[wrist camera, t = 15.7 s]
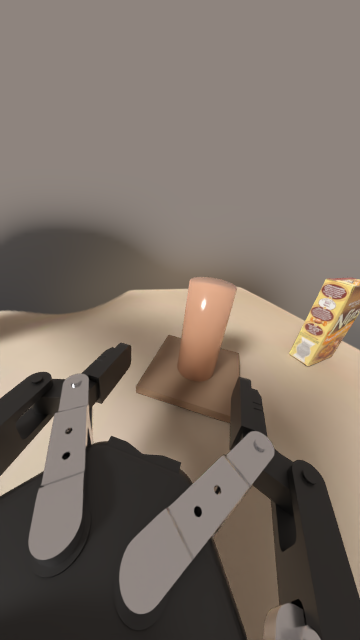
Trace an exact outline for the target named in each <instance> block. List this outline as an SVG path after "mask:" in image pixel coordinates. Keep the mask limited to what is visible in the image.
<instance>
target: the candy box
mask: <svg viewBox="0 0 360 640" xmlns="http://www.w3.org/2000/svg"><path fill="white" fill-rule="evenodd" d="M359 313H360V280H359V279H355V278H337V279H326V280H325V282H324V284H323V287H322V288H321V290H320V292H319V294H318V297H317V299H316V301H315V302H314V305H313V307H312V309H311V311H310V313H309V315H308V317H307V319H306V321H305V323H304V325H303V327H302V329H301V331H300V333H299V335H298V337H297V339H296V341H295V343H294V345H293V347H292V349H291V351H290V353H289V354H290V355H292V356H293V357H295V358H296V359H298V360H299V361H301V362H302V363H304V364H305V365H307V366H310V365H313V364H315V363H318V362H320V361H322V360H325V359H327V358H329V357H331V356H332V355H333V354H334V352H335V351H336V349H337V347H338V346H339V344H340V343H341V341H342V340H343V338H344V336H345V335H346V333H347V332H348V330H349V328H350V327H351V325H352V324H353V322H354V321H355V319H356V317H357V316H358V314H359Z"/></svg>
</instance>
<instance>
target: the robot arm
mask: <svg viewBox="0 0 360 640" xmlns="http://www.w3.org/2000/svg"><path fill="white" fill-rule="evenodd" d="M130 364H131V345H128V344H124V343H120V344H118V345H117V346H116V347H115V348H113V347H112V348H110V349H108V350H106V351H105V352H104V353H103V354H101V356H99V357H98V358H97V360H95V361H94V362H93V363H92V364H91V365H90V366H89V367H88V368H87V369H86V370H85V371H83V372H82V373H81V374H74V375H72V376H70V377H68V378H67V379H52V377H51V375H50V374H49V373H47V372H38V373H35V374H32V375H30V376H29V377H27V378H26V379H25V380H23V381H22V382H21V383H20V384H18V385H17V386H16V387H14V388H13V389H12V390H11V391H9V392H8V393H7V394H5V395H4V396H3V397H2V398H0V476H1V475H2V474H3V472H4V471H5V470H6V469H7V468H8V467H9V466H10V465H11V463H12V462H13V461H14V460H15V459H16V458H17V457H18V456H19V454H20V453H21V452H22V451H23V450H24V449H25V448H26V446H27V445H28V444H29V443H30V442H31V441H32V440H33V439H34V437H35V436H36V435H37V434H38V433H39V432H40V431H41V430H42V428H43V427H44V426H45V425H46V424H47V423H48V422H49V421H50V419H51V418H52V417H53V416H54V419H53V425H52V430H51V436H50V441H49V446H48V452H47V457H46V463H45V468H44V471H43V472H41V473H40V474H38V475H36V476H35V477H33V478H31V479H29V480H28V481H26V482H24V483H22V484H21V485H19V486H17V487H15V488H14V489H12V490H10V491H9V492H7V493H5V494H3V495H2V496H0V640H247V637H246V633H245V630H244V627H243V624H242V621H241V618H240V615H239V612H238V609H237V606H236V604H235V601H234V598H233V595H232V592H231V589H230V586H229V583H228V580H227V577H226V575H225V572H224V569H223V566H222V563H221V560H220V557H219V554H218V551H217V548H216V546H215V543H214V540H213V537H214V536H215V534H216V533H217V532H218V530H219V529H220V528H221V526H222V525H223V524H224V522H225V521H226V520H227V518H228V517H229V516H230V514H231V513H232V512H233V510H234V509H235V508H236V506H237V505H238V504H239V503H240V501H241V500H242V499H243V497H244V496H245V495H246V493H247V492H248V491H249V490H250V488H251V487H252V486H254V487H256V488H257V489H258V490H259V491H261V492H262V493H263V494H264V495H266V496H267V497H268V498H270V499H271V507H272V519H273V531H274V543H275V556H276V568H277V580H278V593H279V605H280V606H278V607H275V608H273V609H271V610H270V611H269V612H268V614H267V615H266V618H265V623H264V637H263V640H360V598H359V595H358V591H357V588H356V585H355V581H354V578H353V575H352V571H351V568H350V565H349V561H348V558H347V555H346V551H345V548H344V545H343V541H342V538H341V535H340V531H339V528H338V525H337V521H336V518H335V515H334V511H333V508H332V505H331V501H330V498H329V495H328V491H327V488H326V485H325V482H324V480H323V478H322V476H321V475H320V473H319V472H318V471H317V470H316V469H315V468H314V467H313V466H312V465H311V464H309V463H307V462H305V461H303V460H296V461H295V462H292V461H291V460H289V459H288V458H286V457H284V456H283V455H281V454H280V453H279V452H278V451H276V450H275V449H274V447H273V444H272V443H271V441H270V440H269V439H268V437H267V432H266V425H265V418H264V412H263V406H262V399H261V396H260V394H259V393H258V391H257V390H255V389H252V388H251V380H249V379H245V378H242V377H238V379H237V382H236V385H235V387H234V390H233V392H232V396H231V414H230V450H231V451H230V452H229V453H228V454H227V455H223V456H221V457H220V458H219V459H218V460H217V461H216V462H215V463H214V464H213V465H212V466H211V467H210V468H209V469H208V470H207V471H206V472H205V473H204V474H203V475H202V476H201V477H199V478H198V479H197V480H196V481H195V482H194V483H192V481H191V480H190V479H189V477H188V476H187V475H186V474H185V473H184V472H183V471H182V470H181V469H180V465H181V462H178V461H176V460H173V459H170V458H168V457H165V456H161V455H147V454H142V453H141V452H139V451H138V450H137V449H136V448H134V447H133V446H132V445H131V444H129V443H128V442H126V441H124V440H121V439H118V438H116V437H113V436H111V437H110V439H109V441H104V442H97V443H94V444H93V405H94V404H95V403H96V402H98V403H101V404H102V403H103V401H104V400H105V399H106V398H107V396H108V395H109V394H110V392H111V391H112V390H113V388H114V387H115V386H116V384H117V383H118V382H119V380H120V379H121V378H122V376H123V375H124V374H125V373H126V371H127V370H128V368H129V367H130ZM30 407H31V408H30Z"/></svg>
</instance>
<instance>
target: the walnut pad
mask: <svg viewBox="0 0 360 640" xmlns="http://www.w3.org/2000/svg"><path fill="white" fill-rule="evenodd" d="M180 343H181V338H178V337H175V336H171V335H168V337H167V338H166V340H165V341H164V343H163V345H162V346H161V348H160V349H159V351H158V352H157V354H156V356H155V357H154V359H153V360H152V362H151V364H150V365H149V367H148V368H147V370H146V371H145V373H144V375H143V376H142V378H141V379H140V381H139V382H138V384H137V386H136V393H139V394H142V395H145V396H148V397H152V398H155V399H158V400H161V401H164V402H167V403H170V404H173V405H176V406H179V407H182V408H185V409H188V410H191V411H194V412H197V413H200V414H203V415H206V416H209V417H212V418H215V419H218V420H221V421H224V422H227V423H230V414H231V396H232V392H233V390H234V387H235V385H236V382H237V379H238V377H239V353H236V352H232V351H228V350H224V349H221V348H220V351H219V355H218V358H217V362H216V366H215V369H214V373H213V375H212V377H211V378H210V379H208V380H206V381H201V382H197V381H192V380H189V379H187V378H185V377H184V376H182V375H181V374H180V372H179V371H178V368H177V364H178V357H179V350H180Z"/></svg>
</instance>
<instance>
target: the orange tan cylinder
mask: <svg viewBox="0 0 360 640" xmlns="http://www.w3.org/2000/svg"><path fill="white" fill-rule="evenodd" d="M236 291H237V288H236V286H235V285H233V284H231V283H229V282H227V281H224V280H221V279H216V278H210V277H195V278H192V279H191V280H190V282H189V289H188V296H187V303H186V309H185V316H184V323H183V330H182V337H181V343H180V350H179V357H178V364H177V368H178V371H179V372H180V374H181V375H182V376H184V377H185V378H187V379H189V380H192V381H197V382H201V381H206V380H208V379H210V378H211V377H212V375H213V373H214V369H215V366H216V362H217V358H218V355H219V351H220V348H221V344H222V341H223V337H224V333H225V330H226V326H227V323H228V319H229V316H230V312H231V308H232V305H233V301H234V298H235V294H236Z"/></svg>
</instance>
